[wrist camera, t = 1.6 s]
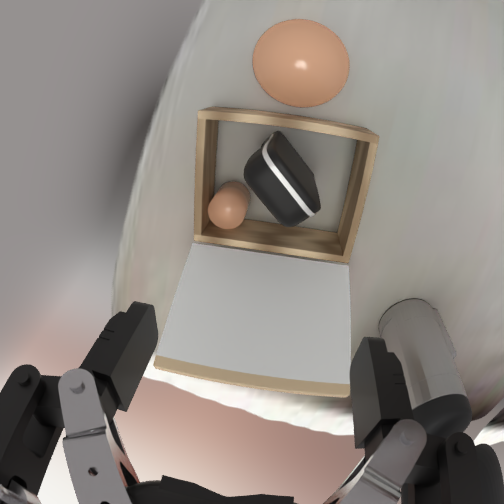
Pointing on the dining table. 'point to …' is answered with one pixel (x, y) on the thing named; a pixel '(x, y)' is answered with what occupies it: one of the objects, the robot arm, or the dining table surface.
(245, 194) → the peach rounded capsule
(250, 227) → the wooden box
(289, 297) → the lid
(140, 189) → the dining table surface
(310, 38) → the saucer
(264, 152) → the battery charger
